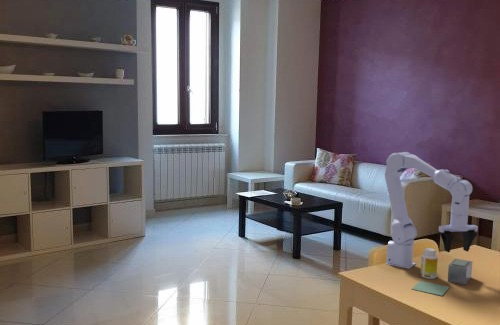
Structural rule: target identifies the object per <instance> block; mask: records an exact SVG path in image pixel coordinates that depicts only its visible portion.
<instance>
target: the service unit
mask: <svg viewBox="0 0 500 325" xmlns="http://www.w3.org/2000/svg"><path fill="white" fill-rule="evenodd" d="M472 272H473V261H471V260H466V259H460V258H454V259H453V260H452V261H451V262H450V263H449V264H448V273H447V282H449V283H452V282H453V283H452V284H458V285H463V286H466V285H467V284H468V283H469V282H470V280H471V279H472Z"/></svg>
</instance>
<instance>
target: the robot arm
mask: <svg viewBox="0 0 500 325" xmlns="http://www.w3.org/2000/svg"><path fill="white" fill-rule="evenodd" d="M385 161H386V162H385V163H386V168H385V171H384V180H385V184H386V188H387V192H388V198H389V203H390V206H391V211H392V216H393V220H392V223H391V235H390V236H391V239H392V240H389V241H388V243H387V246H386V262H385V265H389V266H393V267H399V268H403V269H409V270H410V269H412V267H414V266H415V265H416V262H413V258H414V255H413V254H414V239H416V237H417V235H418V230H417V228H416V226H415V225H414V223H413V220H412V219H411V218H410V217H409V214H408V209H407V204H406V200H405V196H404V191H403V187H402V182H401V176H402V175H403V173H404V172H405V171H407V170H408V169H415V170H417V171H419V172H421V173H423V174H425V175H426V176H429V177H431V178H432V179H433V182H434V183H435V184H436V185H438V186H440V187H441V188H443V189H444V190H446V191H448V192H449V193H450V194H451V196H452V197H451V205H450V206H451V207H450V208H451V209H450V220H449V224H446V225H445V224H444V225H439V226H438V232H439V235H440V237H441V240H442V243H443V249H444V251H445V252H447V253H450V252H451V244H452V241H453V238H454V234H452V232H454V233H455V232H462V236H463V237H462V238H463V242H462V244H463V245H462V250H463V251H465V252H469V250H470V248H471V245H472V243H473V242H474V240H475V238H476V237H477V235H478V228H479V226H477V225H476V224H468V222H469V221H468V219H469V208H470V207H469V206H470V195H471V194H472V192H473V185H472V183H471V182H469V180H467V179H461V177H460V176H456V175H454V174H452V173H450V170H448V169H443V168H442V169H436V168H435V167H433V166H432V165H430V164H429V163H427V162H426V161H424V160H422V159H421V158H420V157H418V156H417V155H415V154H412V153H411V152H410V151H409V152H408V151H402V152H393V153H391V154H389V156H388V158H387V159H386V160H385Z"/></svg>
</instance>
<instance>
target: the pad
mask: <svg viewBox="0 0 500 325" xmlns="http://www.w3.org/2000/svg"><path fill="white" fill-rule="evenodd" d="M449 289H450V286H447V285H443V284H436V283H432V282H427V281H423V280H420V281H418V282H417V283H416V284H415V285H414V286H413V287H412V288H411V290H414V291H418V292H422V293H426V294H431V295H436V296H441V297H443V296H444V295H445V294H446V293H447V291H448V290H449Z"/></svg>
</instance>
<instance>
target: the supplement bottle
mask: <svg viewBox="0 0 500 325" xmlns="http://www.w3.org/2000/svg"><path fill="white" fill-rule="evenodd" d="M436 251H437V250H436V249H435V248H432V247H425V248H424V249H423V253H422V254H421V259H420V277H422V278H424V279H427V280H432V279H436V278H437V276H438V275H437V274H438V273H437V272H438V271H437V270H438V255H437V254H436Z"/></svg>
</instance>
